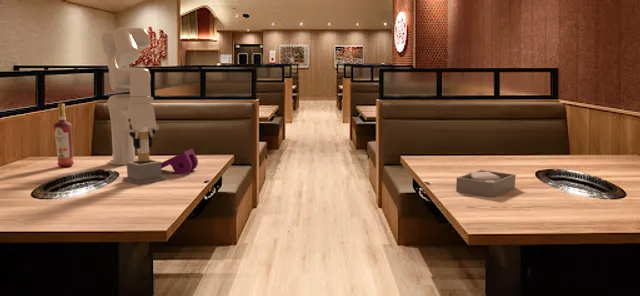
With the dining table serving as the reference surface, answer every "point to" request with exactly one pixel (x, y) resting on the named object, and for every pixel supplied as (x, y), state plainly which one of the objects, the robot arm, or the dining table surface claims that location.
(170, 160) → the mounting bracket
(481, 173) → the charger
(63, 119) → the liquor
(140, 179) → the well
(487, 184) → the stand
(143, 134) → the sprinkles bottle
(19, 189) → the dining table surface
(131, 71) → the robot arm
